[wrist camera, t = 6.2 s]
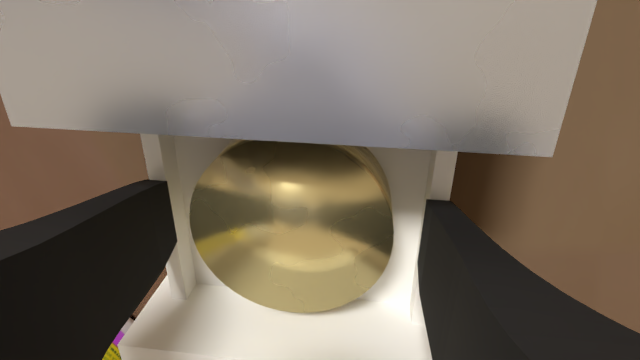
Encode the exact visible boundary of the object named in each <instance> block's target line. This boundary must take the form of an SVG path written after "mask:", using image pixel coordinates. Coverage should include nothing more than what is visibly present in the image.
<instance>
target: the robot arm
mask: <svg viewBox="0 0 640 360" xmlns="http://www.w3.org/2000/svg"><path fill="white" fill-rule="evenodd" d="M176 243H177V235H176V230H175V224H174V218H173V212H172V206H171V201H170V195H169V189H168V183H167V181H160V180H143V181H139V182H136V183H132V184H129V185H127V186H124V187H121V188H118V189H116V190H113V191H110V192H108V193H105V194H103V195H100V196H98V197H95V198H92V199H90V200H87V201H85V202H82V203H80V204H77V205H75V206H72V207H69V208H66V209H63V210H61V211H58V212H55V213H52V214H50V215H47V216H44V217H41V218H39V219H36V220H33V221H30V222H27V223H24V224H21V225H17V226H14V227H11V228H8V229H4V230H1V231H0V360H102V359H103V357H104V355H105V353H106V352H107V350H108V348H109V347H110V345H111V344H112V342H113V341H114V339H115V338H116V336H117V335H118V333H119V332H120V330H121V329H122V328H123V326H124V325H125V323H126V322H127V321H128V319H129V318H130V316H131V315H132V314H133V312H134V311H135V309H136V308H137V307H138V305H139V304H140V302H141V301H142V300H143V298H144V297H145V295H146V294H147V293H148V291H149V290H150V288H151V287H152V285H153V284H154V283H155V281H156V280H157V278H158V277H159V275H160V274H161V272H162V271H163V269H164V267H165V266H166V264H167V262H168V260H169V258H170V256H171V254H172V252H173V250H174V248H175V245H176ZM417 265H418V282H419V295H420V300H421V305H422V311H423V316H424V321H425V326H426V331H427V336H428V341H429V346H430V350H431V355H432V360H640V334H639V333H637V332H635V331H633V330H631V329H629V328H627V327H625V326H623V325H621V324H619V323H617V322H615V321H613V320H611V319H609V318H607V317H605V316H604V315H602V314H600V313H598V312H596V311H595V310H593V309H591V308H589V307H588V306H586V305H584V304H582V303H580V302H579V301H577V300H575V299H573V298H572V297H570V296H569V295H567V294H565V293H564V292H562V291H560V290H559V289H557V288H556V287H554V286H553V285H551V284H550V283H548V282H547V281H545V280H544V279H542V278H541V277H539V276H538V275H536V274H535V273H533V272H532V271H531V270H529V269H528V268H526V267H525V266H524V265H522V264H521V263H520V262H519V261H517V260H516V259H515V258H514V257H512V256H511V255H510V254H508V253H507V252H506V251H505V250H503V249H502V248H501V247H500V246H499V245H498V244H496V243H495V242H494V241H493V240H492V239H491V238H490V237H488V236H487V235H486V234H485V233H484V232H483V231H482V230H481V229H480V228H479V227H478V226H476V225H475V224H474V223H473V222H472V221H471V220H470V219H469V218H468V217H467V216H466V215H465V214H464V213H463V212H462V211H461V210H460V209H459V208H458V207H457V206H456V205H455V204H453V203H452V202H451V201H445V200H431V199H426V206H425V213H424V220H423V227H422V233H421V240H420V247H419V254H418V261H417Z"/></svg>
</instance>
